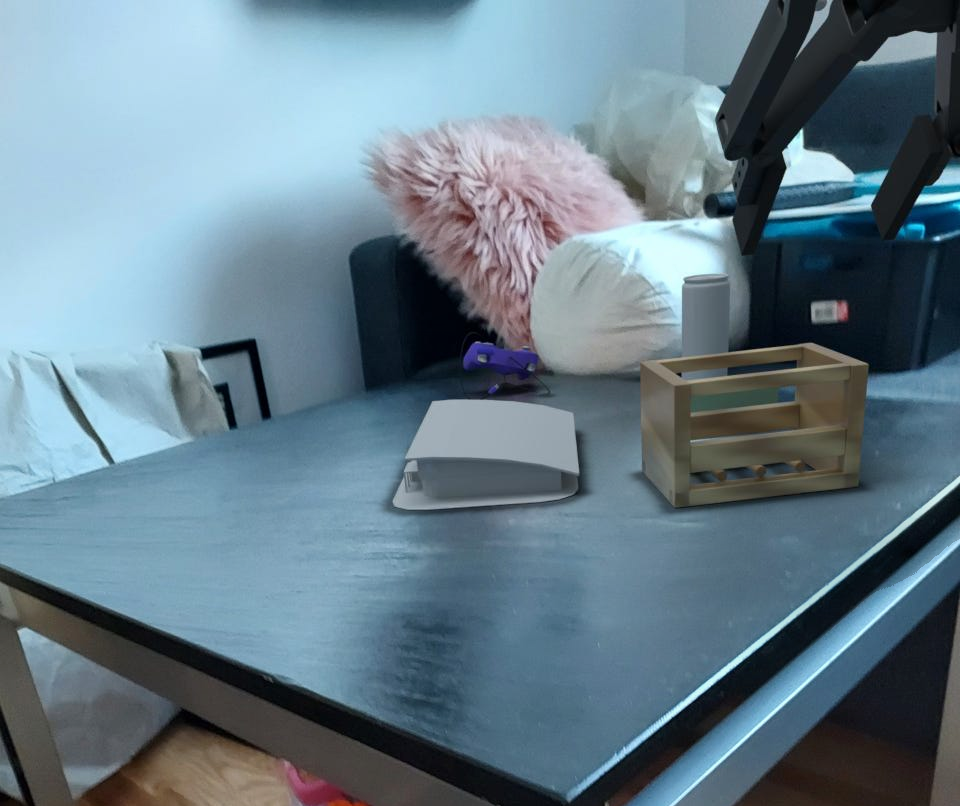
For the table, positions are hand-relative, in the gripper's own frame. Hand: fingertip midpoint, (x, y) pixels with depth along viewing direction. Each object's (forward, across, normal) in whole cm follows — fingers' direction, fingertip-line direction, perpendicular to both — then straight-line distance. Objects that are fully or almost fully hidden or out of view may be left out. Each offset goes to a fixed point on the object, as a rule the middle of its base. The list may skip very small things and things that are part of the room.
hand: (813, 229), depth 58 cm
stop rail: (+36, +5, +9) cm, 37 cm away
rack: (+21, 0, -6) cm, 22 cm away
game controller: (+51, -14, +24) cm, 58 cm away
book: (+29, -19, +3) cm, 35 cm away
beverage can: (+42, +6, +15) cm, 45 cm away
